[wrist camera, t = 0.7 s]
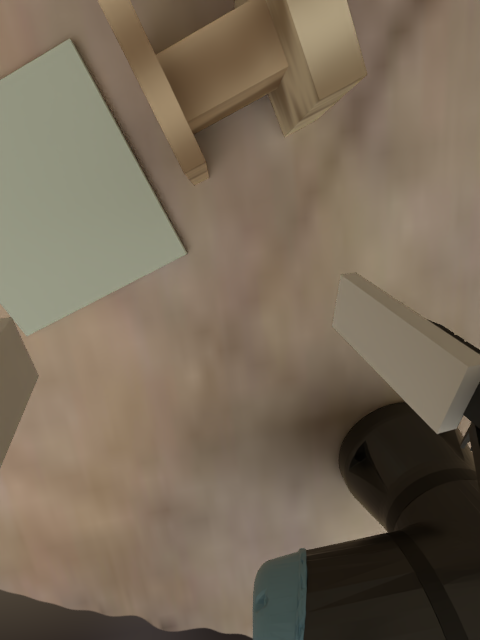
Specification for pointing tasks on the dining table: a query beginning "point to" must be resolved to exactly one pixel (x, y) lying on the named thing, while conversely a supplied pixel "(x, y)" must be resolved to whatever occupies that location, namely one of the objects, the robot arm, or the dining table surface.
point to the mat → (70, 195)
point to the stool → (243, 67)
